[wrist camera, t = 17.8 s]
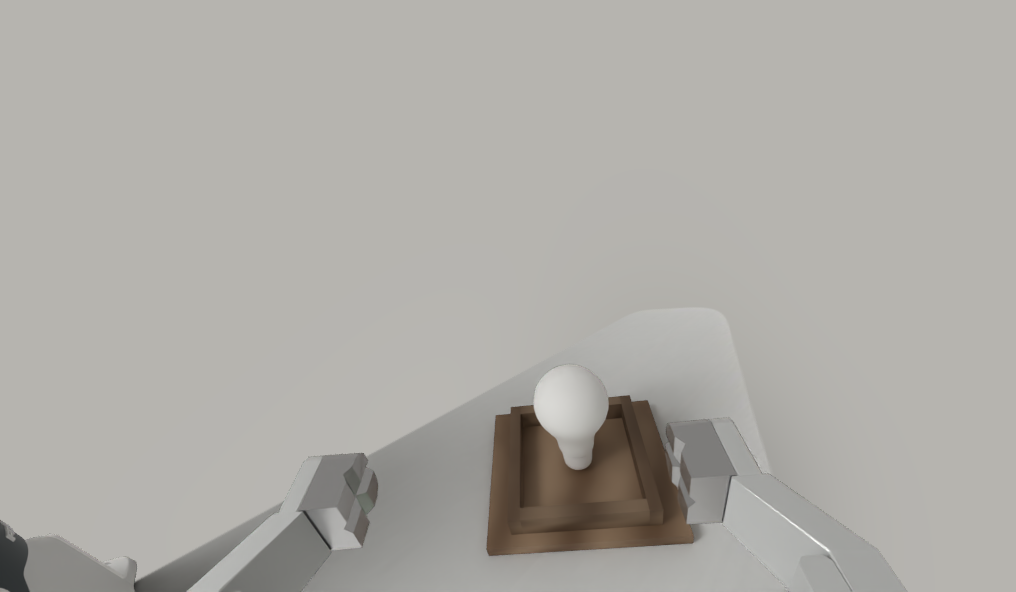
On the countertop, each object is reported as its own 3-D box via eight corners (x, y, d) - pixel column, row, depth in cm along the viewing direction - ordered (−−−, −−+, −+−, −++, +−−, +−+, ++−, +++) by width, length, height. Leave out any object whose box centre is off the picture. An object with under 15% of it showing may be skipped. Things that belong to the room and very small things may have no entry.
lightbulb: (538, 487, 38) (519, 398, 32) (553, 432, 43) (539, 347, 37) (608, 500, 36) (601, 407, 30) (616, 441, 41) (610, 351, 35)
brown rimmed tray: (488, 555, 35) (481, 535, 33) (497, 421, 47) (492, 402, 45) (692, 543, 33) (695, 520, 31) (647, 407, 45) (647, 386, 43)
